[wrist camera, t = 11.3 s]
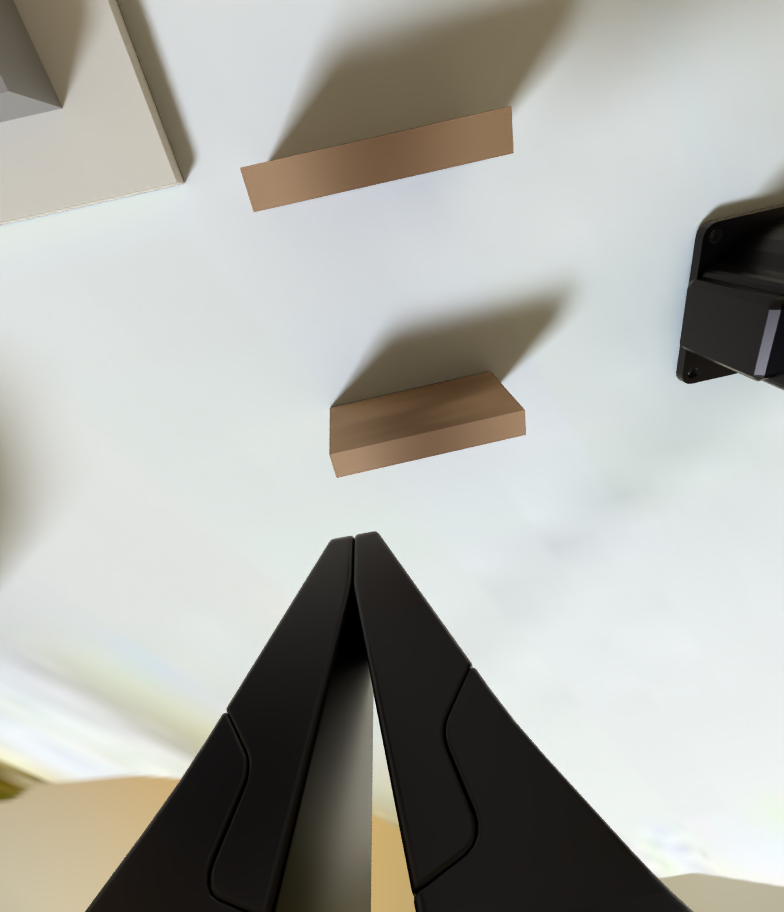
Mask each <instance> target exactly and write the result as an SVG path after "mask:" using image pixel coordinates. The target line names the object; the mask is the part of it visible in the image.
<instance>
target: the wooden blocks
mask: <svg viewBox="0 0 784 912" xmlns="http://www.w3.org/2000/svg"><path fill="white" fill-rule="evenodd" d="M511 153H513V132H512V110H511V106H510V107H505V108H501V109H496V110H492V111H488V112H483V113H479V114H474V115H470V116H466V117H461V118H457V119H452V120H448V121H444V122H439V123H435V124H431V125H426V126H422V127H417V128H413V129H409V130H404V131H400V132H395V133H391V134H387V135H382V136H378V137H373V138H369V139H365V140H360V141H356V142H351V143H347V144H343V145H338V146H334V147H329V148H325V149H321V150H316V151H312V152H308V153H303V154H299V155H294V156H290V157H286V158H281V159H277V160H272V161H268V162H264V163H259V164H255V165H250V166H246V167H242V168H240V169H241V173H242V176H243V179H244V182H245V186H246V189H247V192H248V195H249V198H250V202H251V205H252V208H253V211H254V212H257V211H261V210H266V209H270V208H274V207H279V206H283V205H288V204H292V203H296V202H301V201H305V200H309V199H314V198H318V197H323V196H327V195H331V194H336V193H340V192H345V191H349V190H353V189H358V188H362V187H367V186H371V185H375V184H380V183H384V182H389V181H393V180H397V179H402V178H406V177H410V176H415V175H419V174H424V173H428V172H432V171H437V170H441V169H446V168H450V167H454V166H459V165H463V164H468V163H472V162H476V161H481V160H485V159H490V158H494V157H498V156H503V155H507V154H511ZM522 435H526V425H525V410H524V409H523V407H522V406H521V405H520V404H519V403H518V402H517V401H516V400H515V398H514V397H513V396H512V395H511V394H510V393H509V392H508V391H507V389H506V388H505V387H504V386H503V385H502V384H501V383H500V382H499V380H498V379H497V378H496V377H495V376H494V375H493V374H492V373H491V371H489V372H485V373H480V374H476V375H472V376H467V377H463V378H459V379H454V380H450V381H445V382H441V383H437V384H432V385H428V386H423V387H419V388H415V389H410V390H406V391H401V392H397V393H393V394H388V395H384V396H380V397H375V398H371V399H366V400H362V401H358V402H353V403H349V404H344V405H340V406H336V407H331V408H330V453H329V455H330V458H331V461H332V464H333V467H334V471H335V474H336V477H337V478H338V477H343V476H347V475H351V474H356V473H360V472H365V471H369V470H373V469H378V468H382V467H387V466H391V465H395V464H400V463H404V462H408V461H413V460H417V459H422V458H426V457H430V456H435V455H439V454H444V453H448V452H452V451H457V450H461V449H465V448H470V447H474V446H479V445H483V444H487V443H492V442H496V441H501V440H505V439H509V438H514V437H518V436H522Z"/></svg>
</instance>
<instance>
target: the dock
mask: <svg viewBox="0 0 784 912" xmlns="http://www.w3.org/2000/svg"><path fill="white" fill-rule="evenodd" d="M181 184H184V182H183V179H182V176H181V174H180V171H179V168H178V165H177V163H176V160H175V157H174V155H173V152H172V149H171V147H170V144H169V141H168V139H167V136H166V133H165V131H164V128H163V125H162V122H161V120H160V117H159V114H158V112H157V109H156V106H155V104H154V101H153V98H152V96H151V93H150V90H149V88H148V85H147V82H146V79H145V77H144V74H143V71H142V69H141V66H140V63H139V61H138V58H137V55H136V53H135V50H134V47H133V45H132V42H131V39H130V37H129V34H128V31H127V28H126V26H125V23H124V20H123V18H122V15H121V12H120V10H119V7H118V4H117V2H116V0H0V226H1V225H5V224H9V223H14V222H18V221H23V220H27V219H31V218H36V217H40V216H44V215H49V214H53V213H58V212H62V211H66V210H71V209H75V208H80V207H84V206H88V205H93V204H97V203H102V202H106V201H110V200H115V199H119V198H124V197H128V196H132V195H137V194H141V193H145V192H150V191H154V190H159V189H163V188H167V187H172V186H176V185H181Z"/></svg>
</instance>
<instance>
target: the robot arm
mask: <svg viewBox="0 0 784 912" xmlns="http://www.w3.org/2000/svg"><path fill="white" fill-rule="evenodd" d="M713 230H715V235H714V237H713V239H712V240H711V241H709V236H710V234H711V233H712V231H713ZM692 368H693V370H692V372H691V373H690V374H688V372H689V371H690V370H691V369H692ZM736 373H740V374H742V375H744V376H747V377H749V378H751V379H753V380H756V381H761V380H762V381H764V382H766V383H769V384H771V385H773V386H775V387H778V388H780V389H782V390H784V204H782V205H777V206H773V207H768V208H764V209H760V210H755V211H751V212H746V213H742V214H738V215H733V216H729V217H724V218H720V219H716V220H711V221H709V222H706V223H705V224H704V225H702V226H701V227H700V229H699V230H698V232H697V235H696V238H695V245H694V252H693V259H692V266H691V273H690V280H689V286H688V290H687V297H686V304H685V311H684V318H683V325H682V332H681V339H680V350H679V357H678V364H677V371H676V376H677V378H678V379H679V380H681V381H683V382H685V383H687V384H692V383H696V382H701V381H705V380H710V379H714V378H718V377H723V376H727V375H732V374H736ZM373 693H374V698H375V703H376V708H377V714H378V719H379V724H380V729H381V734H382V739H383V745H384V750H385V755H386V760H387V765H388V770H389V776H390V781H391V786H392V791H393V796H394V801H395V807H396V812H397V817H398V822H399V827H400V832H401V838H402V843H403V847H404V853H405V858H406V863H407V869H408V873H409V879H410V884H411V889H412V893H413V895H414V898H415V899H414V905H415V910H416V912H693V911H692V910H691V909H690V908H689V907H688V906H687V905H686V904H685V903H683V902H682V901H681V900H680V899H679V898H678V897H677V896H676V895H675V894H674V893H673V892H672V891H670V890H669V889H668V887H667V886H665V885H664V883H662V882H661V881H660V880H659V879H658V878H657V877H656V876H655V875H654V874H653V873H652V872H651V871H650V869H649V868H648V867H647V866H646V865H645V864H644V863H643V862H642V861H641V860H640V859H639V858H638V857H637V856H636V855H635V854H634V853H633V852H632V851H631V849H630V848H629V847H628V846H627V845H626V844H625V843H624V842H623V841H622V840H621V838H620V837H619V836H618V835H617V834H616V833H615V832H614V831H613V830H612V829H611V828H610V826H609V825H608V824H607V823H606V822H605V821H604V820H603V819H602V818H601V817H600V816H599V814H598V813H597V812H596V811H595V810H594V809H593V808H592V807H591V806H590V805H589V804H588V802H587V801H586V800H585V799H584V798H583V797H582V796H581V795H580V794H579V793H578V792H577V790H576V789H575V788H574V787H573V786H572V785H571V784H570V783H569V782H568V781H567V779H566V778H565V777H564V776H563V775H562V774H561V773H560V772H559V771H558V770H557V769H556V767H555V766H554V765H553V764H552V763H551V762H550V761H549V760H548V759H547V758H546V757H545V755H544V754H543V753H542V752H541V751H540V750H539V748H538V747H537V746H536V745H535V744H534V743H533V742H532V740H531V739H530V738H529V737H528V736H527V735H526V733H525V732H524V731H523V730H522V729H521V728H520V726H519V725H518V724H517V723H516V722H515V721H514V719H513V718H512V717H511V715H510V714H509V713H508V712H507V710H506V709H505V708H504V706H503V705H502V704H501V702H500V701H499V700H498V698H497V697H496V696H495V695H494V693H493V692H492V691H491V689H490V688H489V687H488V685H487V684H486V682H485V681H484V680H483V678H482V677H481V675H480V674H479V673H478V671H477V670H476V669H475V668H473V667H472V663H471V662H470V660H469V659H468V658H467V656H466V655H465V653H464V652H463V651H462V649H461V648H460V646H459V645H458V644H457V642H456V641H455V639H454V638H453V637H452V635H451V634H450V632H449V631H448V630H447V628H446V627H445V625H444V624H443V623H442V621H441V620H440V618H439V617H438V616H437V614H436V613H435V611H434V610H433V609H432V607H431V606H430V604H429V603H428V602H427V600H426V599H425V597H424V596H423V595H422V593H421V592H420V590H419V589H418V588H417V586H416V585H415V583H414V582H413V581H412V579H411V578H410V576H409V575H408V574H407V572H406V571H405V569H404V568H403V567H402V565H401V564H400V562H399V561H398V560H397V558H396V557H395V555H394V554H393V553H392V551H391V550H390V549H389V547H388V546H387V544H386V543H385V542H384V540H383V539H382V537H381V536H380V535H379V533H377V532H368V533H363V534H358V535H356V536H355V539H354V537H352V536H347V537H341V538H336V539H332V540H331V541H330V542H329V543H328V545H327V547H326V548H325V550H324V551H323V553H322V555H321V556H320V558H319V560H318V561H317V563H316V564H315V566H314V568H313V569H312V571H311V572H310V574H309V576H308V577H307V579H306V581H305V582H304V584H303V585H302V587H301V589H300V590H299V592H298V594H297V595H296V597H295V598H294V600H293V602H292V603H291V605H290V606H289V608H288V610H287V611H286V613H285V615H284V616H283V618H282V619H281V621H280V623H279V624H278V626H277V627H276V629H275V631H274V632H273V634H272V636H271V637H270V639H269V640H268V642H267V644H266V645H265V647H264V648H263V650H262V652H261V653H260V655H259V657H258V658H257V660H256V661H255V663H254V665H253V666H252V668H251V670H250V671H249V673H248V674H247V676H246V678H245V679H244V681H243V682H242V684H241V686H240V687H239V689H238V691H237V692H236V694H235V695H234V697H233V699H232V700H231V702H230V703H229V705H228V707H227V709H226V710H227V713H228V714H227V713H224V714H222V716H221V718H220V719H219V721H218V722H217V724H216V726H215V727H214V729H213V731H212V732H211V734H210V735H209V737H208V739H207V740H206V742H205V743H204V745H203V746H202V748H201V749H200V751H199V752H198V754H197V756H196V757H195V759H194V760H193V762H192V763H191V765H190V766H189V768H188V769H187V771H186V772H185V774H184V776H183V777H182V779H181V780H180V782H179V783H178V784H177V786H176V787H175V789H174V790H173V792H172V793H171V794H170V796H169V797H168V799H167V800H166V801H165V803H164V804H163V806H162V807H161V809H160V810H159V812H158V813H157V814H156V816H155V817H154V818H153V820H152V821H151V823H150V824H149V825H148V827H147V828H146V830H145V831H144V832H143V834H142V835H141V836H140V838H139V839H138V840H137V842H136V843H135V845H134V846H133V847H132V849H131V850H130V851H129V853H128V854H127V855H126V857H125V858H124V860H123V861H122V862H121V864H120V865H119V866H118V868H117V869H116V871H115V872H114V873H113V874H112V876H111V877H110V879H109V880H108V881H107V883H106V884H105V885H104V887H103V888H102V890H101V891H100V892H99V894H98V895H97V896H96V898H95V899H94V900H93V902H92V903H91V904H90V906H89V907H88V909H87V910H86V911H85V912H371V844H372V842H371V841H372V761H373Z"/></svg>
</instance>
